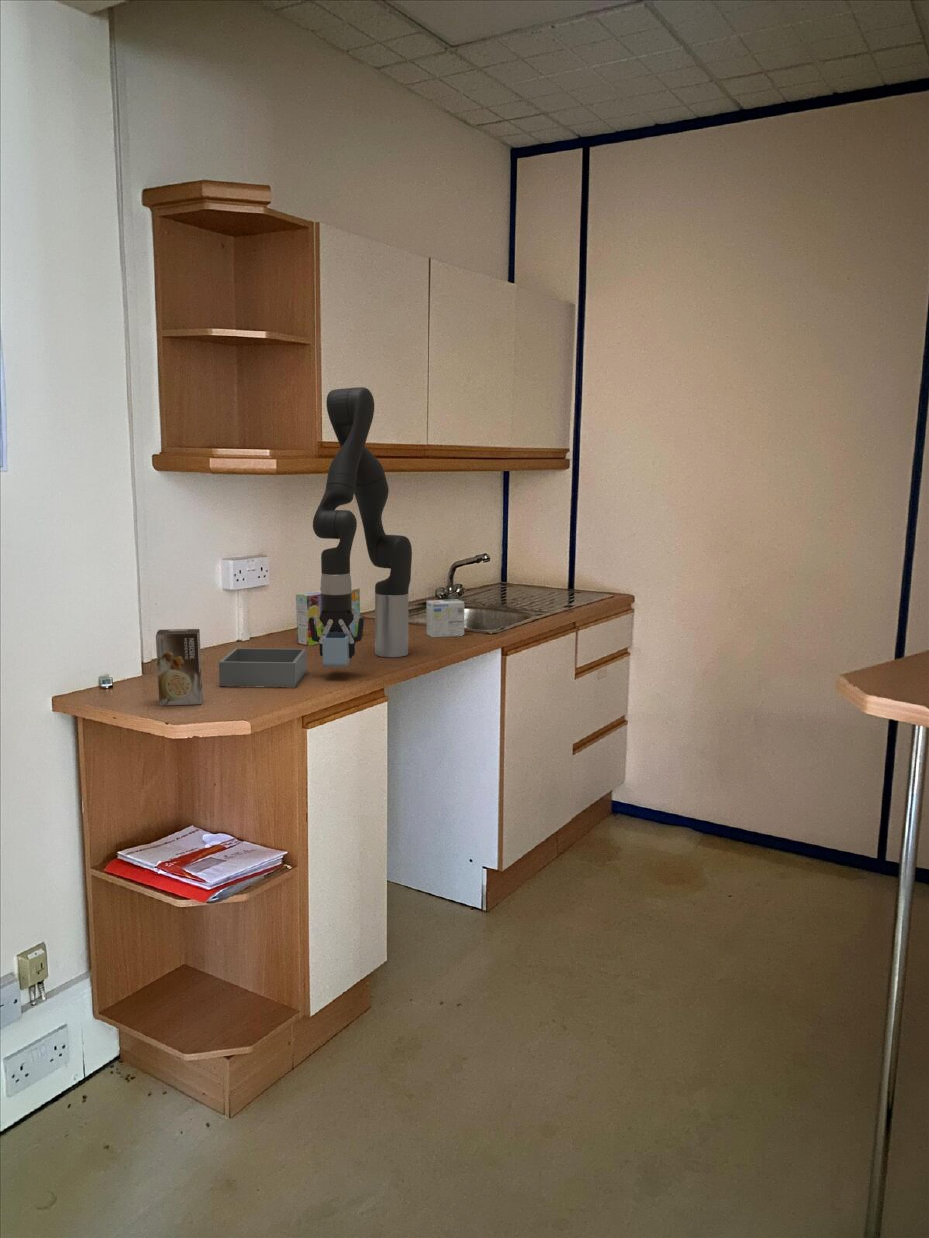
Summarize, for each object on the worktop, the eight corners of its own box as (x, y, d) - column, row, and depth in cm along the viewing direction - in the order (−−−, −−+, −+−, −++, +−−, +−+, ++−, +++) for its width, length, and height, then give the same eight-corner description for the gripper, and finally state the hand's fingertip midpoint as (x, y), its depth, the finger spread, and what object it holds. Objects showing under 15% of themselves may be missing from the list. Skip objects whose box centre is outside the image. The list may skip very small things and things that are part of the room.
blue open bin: (328, 657, 248) (327, 630, 247) (351, 657, 249) (351, 630, 247) (322, 666, 239) (322, 638, 237) (347, 666, 239) (347, 638, 237)
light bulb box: (457, 632, 307) (458, 598, 305) (465, 636, 301) (465, 601, 299) (425, 634, 303) (425, 599, 302) (432, 638, 297) (432, 603, 295)
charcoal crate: (235, 671, 248) (235, 648, 247) (306, 672, 248) (306, 649, 247) (219, 686, 231) (218, 662, 230) (295, 687, 232) (295, 663, 231)
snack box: (348, 634, 301) (348, 586, 299) (361, 636, 298) (361, 587, 295) (295, 644, 285) (295, 592, 282) (308, 646, 281) (308, 594, 279)
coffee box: (203, 697, 221) (201, 628, 218) (201, 705, 215) (198, 633, 212) (161, 699, 219) (158, 628, 217) (157, 706, 213) (154, 634, 211)
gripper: (366, 589, 244) (367, 654, 247) (309, 588, 244) (310, 654, 247) (364, 593, 237) (364, 661, 240) (304, 593, 237) (306, 661, 240)
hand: (337, 657), depth 243 cm, fingers closed on blue open bin, 6 cm apart
